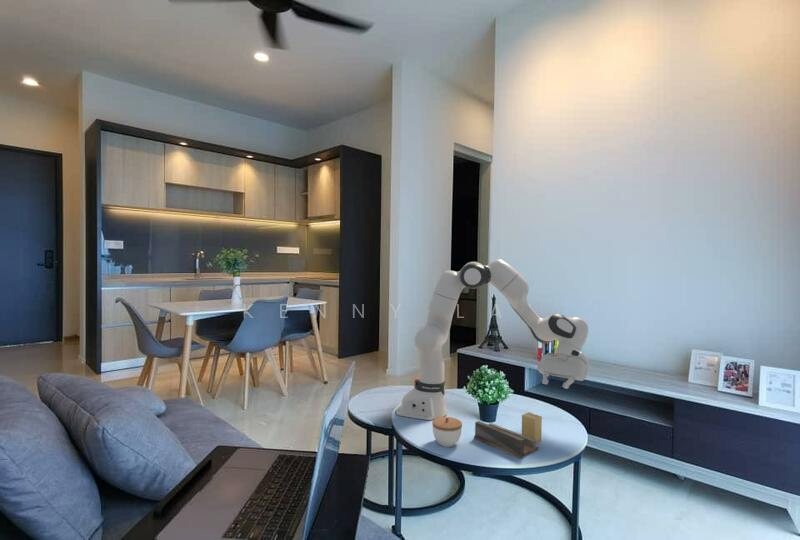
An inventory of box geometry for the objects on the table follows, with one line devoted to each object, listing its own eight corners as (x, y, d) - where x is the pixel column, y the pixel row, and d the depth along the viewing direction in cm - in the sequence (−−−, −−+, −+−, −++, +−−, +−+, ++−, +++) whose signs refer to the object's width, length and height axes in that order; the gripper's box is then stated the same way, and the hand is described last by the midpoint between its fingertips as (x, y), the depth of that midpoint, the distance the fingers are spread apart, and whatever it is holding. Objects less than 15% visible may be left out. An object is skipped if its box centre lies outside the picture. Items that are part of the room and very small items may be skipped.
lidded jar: (455, 452, 141) (455, 425, 141) (427, 445, 146) (427, 419, 146) (465, 440, 150) (466, 415, 150) (439, 434, 155) (439, 410, 155)
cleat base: (492, 431, 159) (492, 415, 159) (538, 449, 144) (538, 432, 144) (474, 438, 152) (474, 422, 152) (519, 458, 137) (520, 441, 137)
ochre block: (528, 435, 156) (528, 412, 155) (541, 440, 151) (541, 416, 151) (521, 438, 153) (522, 414, 153) (534, 443, 149) (535, 419, 148)
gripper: (541, 348, 170) (528, 377, 165) (585, 353, 153) (573, 385, 148) (549, 356, 173) (537, 385, 168) (594, 362, 155) (582, 394, 150)
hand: (554, 385), depth 158 cm, fingers open, 8 cm apart
